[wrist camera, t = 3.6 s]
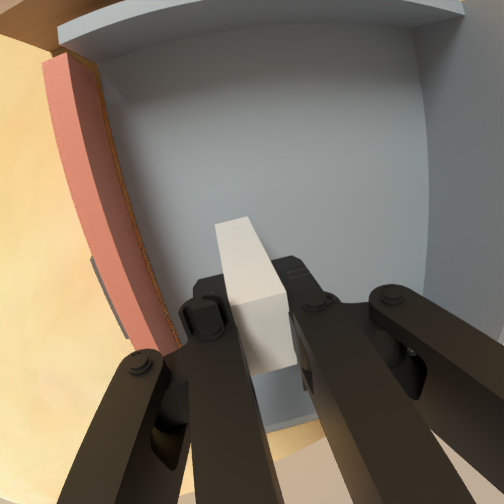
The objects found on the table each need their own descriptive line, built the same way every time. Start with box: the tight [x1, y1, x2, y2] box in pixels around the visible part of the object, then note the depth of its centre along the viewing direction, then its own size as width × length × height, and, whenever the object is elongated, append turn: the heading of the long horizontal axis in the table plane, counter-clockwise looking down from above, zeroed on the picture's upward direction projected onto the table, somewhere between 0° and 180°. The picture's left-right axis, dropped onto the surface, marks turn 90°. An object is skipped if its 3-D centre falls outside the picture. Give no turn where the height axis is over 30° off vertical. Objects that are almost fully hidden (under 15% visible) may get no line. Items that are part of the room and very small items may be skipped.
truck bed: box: [57, 0, 504, 433], centre depth 14 cm, size 22×18×9 cm
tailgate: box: [42, 52, 179, 356], centre depth 14 cm, size 20×1×5 cm, turn 11°
